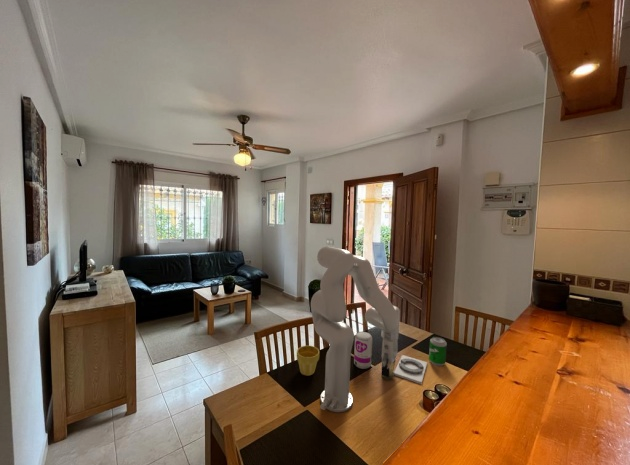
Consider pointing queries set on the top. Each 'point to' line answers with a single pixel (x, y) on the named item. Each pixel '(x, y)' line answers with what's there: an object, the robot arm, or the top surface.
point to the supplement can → (363, 350)
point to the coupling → (391, 371)
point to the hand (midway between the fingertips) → (388, 370)
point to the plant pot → (307, 359)
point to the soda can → (437, 351)
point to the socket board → (411, 369)
